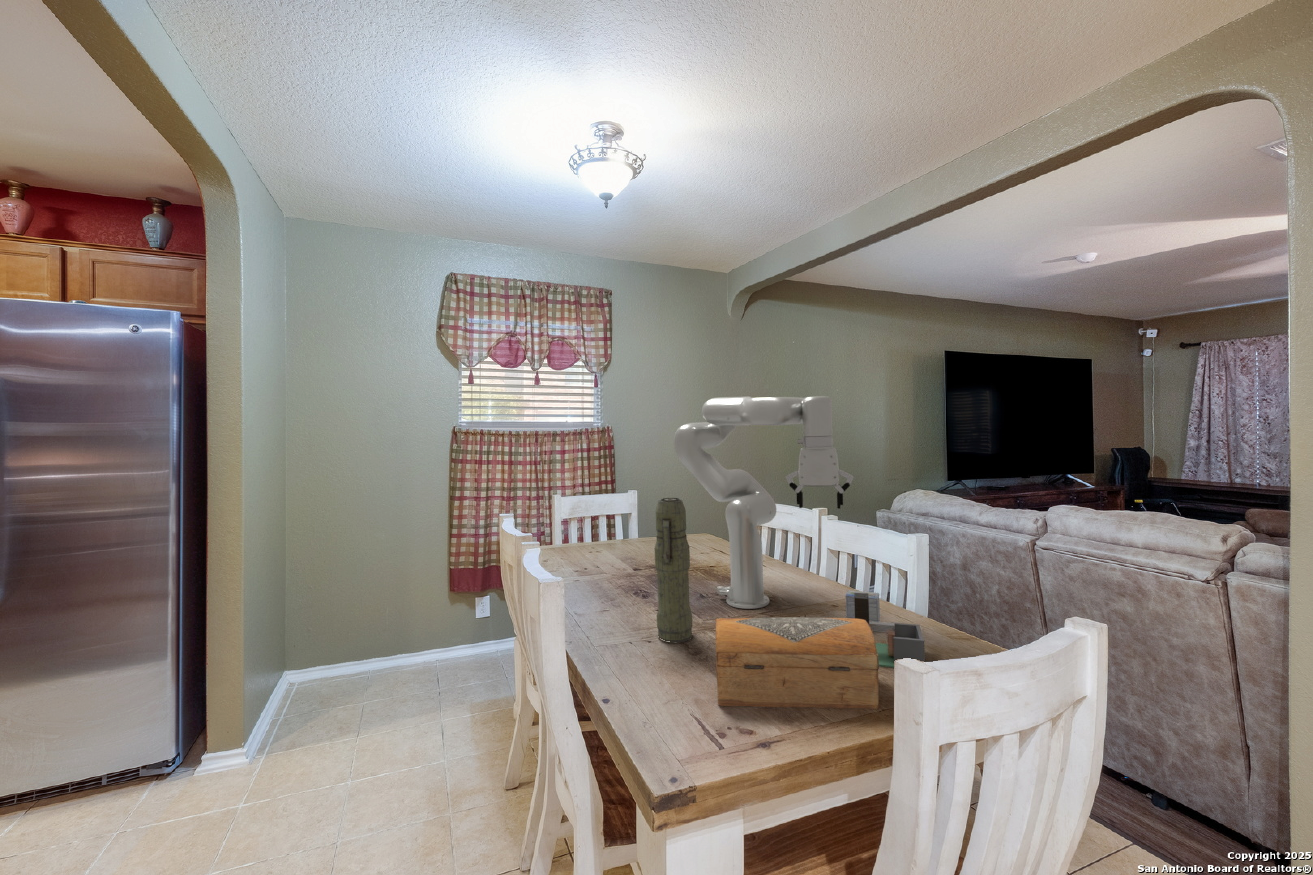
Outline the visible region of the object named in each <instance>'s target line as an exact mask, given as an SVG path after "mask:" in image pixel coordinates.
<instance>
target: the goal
mask: <svg viewBox="0 0 1313 875" xmlns="http://www.w3.org/2000/svg"><path fill="white" fill-rule="evenodd" d="M890 623H894V625H895V637H893V639H894V661H895V660H897V659H903V658H911V659H917V660H920V661H924V662H925V663H926V654H925V653H926V650H925V649H926V648H925V638H924V635H923V632H922V628H921V625H920V624H914V623H903V622H901V623H900V622H893V621H892V622H890Z"/></svg>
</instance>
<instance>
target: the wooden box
mask: <svg viewBox="0 0 1313 875" xmlns="http://www.w3.org/2000/svg"><path fill="white" fill-rule="evenodd" d="M875 643H876V641H875V636H874V633H873V631H872V630H871V628H870V626H869V624H868V623H867V621H866V620H863V619H856V618H846V617H807V616H806V617H803V616H801V617H799V616H798V617H797V616H796V617H795V616H794V617H781V616H780V617H764V616H763V617H746V618H745V617H741V618H740V617H738V618H733V617H732V618H731V617H729V618H728V617H724V618H722V617H721V618H716V619H715V656H716V657H715V658H716V662H715V666H716V685H717V687H716V689H717V691H716V692H717V705H718V706H723V707H755V708H757V707H758V708H759V707H760V708H762V707H763V708H769V707H770V708H804V709H806V708H810V709H811V708H817V709H819V708H820V709H859V710H860V709H861V710H862V709H863V710H864V709H865V710H866V709H869V710H870V709H871V710H872V709H873V710H874V709H879V702H880V701H879V693H880V690H879V689H880V687H879V684H880V683H879V682H880V681H879V678H880V677H879V669H880V666H879V659H878V654H877V650H876V645H875Z"/></svg>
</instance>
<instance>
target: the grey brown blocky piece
mask: <svg viewBox="0 0 1313 875" xmlns="http://www.w3.org/2000/svg"><path fill="white" fill-rule="evenodd" d="M854 604H855V618H856V619H863V620H866V621H867V623H868V624H869V626H870V628H871V630H872V632H880V633H886V644H887V651H888V656H893V657H894V639H893V637H895V625H894V623H895V622H892V623H891V622H887V621H886V622H885V621H882V622H881V621H880V622H874V621H869V598H868V593H854Z"/></svg>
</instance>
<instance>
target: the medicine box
mask: <svg viewBox="0 0 1313 875" xmlns="http://www.w3.org/2000/svg"><path fill="white" fill-rule="evenodd" d="M854 593H868V598H869V621H874V622H881V613H880V612H881V611H880V593H879V592H873V591H865V590H864V591H863V590H862V591H860V590H850V589H849V590H846V594H845V616H846V617H845V618H855V604H854Z"/></svg>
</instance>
